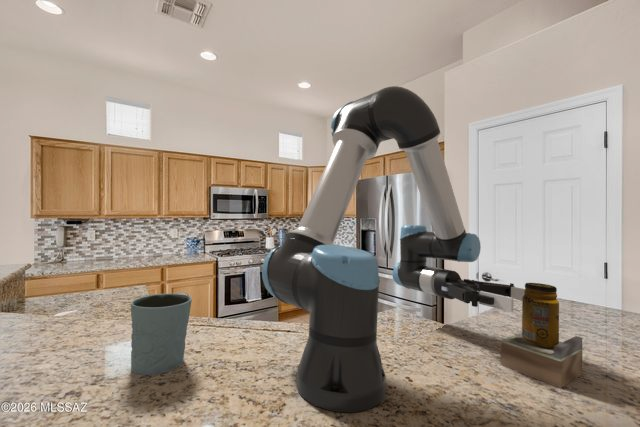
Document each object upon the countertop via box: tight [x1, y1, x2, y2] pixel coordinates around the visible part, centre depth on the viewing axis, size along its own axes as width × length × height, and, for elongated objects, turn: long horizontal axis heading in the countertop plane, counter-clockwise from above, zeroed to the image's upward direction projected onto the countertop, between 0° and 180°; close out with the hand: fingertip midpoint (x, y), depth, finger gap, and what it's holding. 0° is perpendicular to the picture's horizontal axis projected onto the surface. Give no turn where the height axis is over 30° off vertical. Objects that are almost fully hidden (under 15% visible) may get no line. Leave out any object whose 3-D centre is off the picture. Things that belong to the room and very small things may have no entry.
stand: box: [500, 332, 583, 389], centre depth 59 cm, size 11×10×7 cm
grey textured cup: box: [130, 293, 193, 376], centre depth 54 cm, size 10×10×12 cm
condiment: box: [509, 282, 560, 355], centre depth 59 cm, size 7×8×12 cm
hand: (529, 301), depth 61 cm, fingers open, 13 cm apart
